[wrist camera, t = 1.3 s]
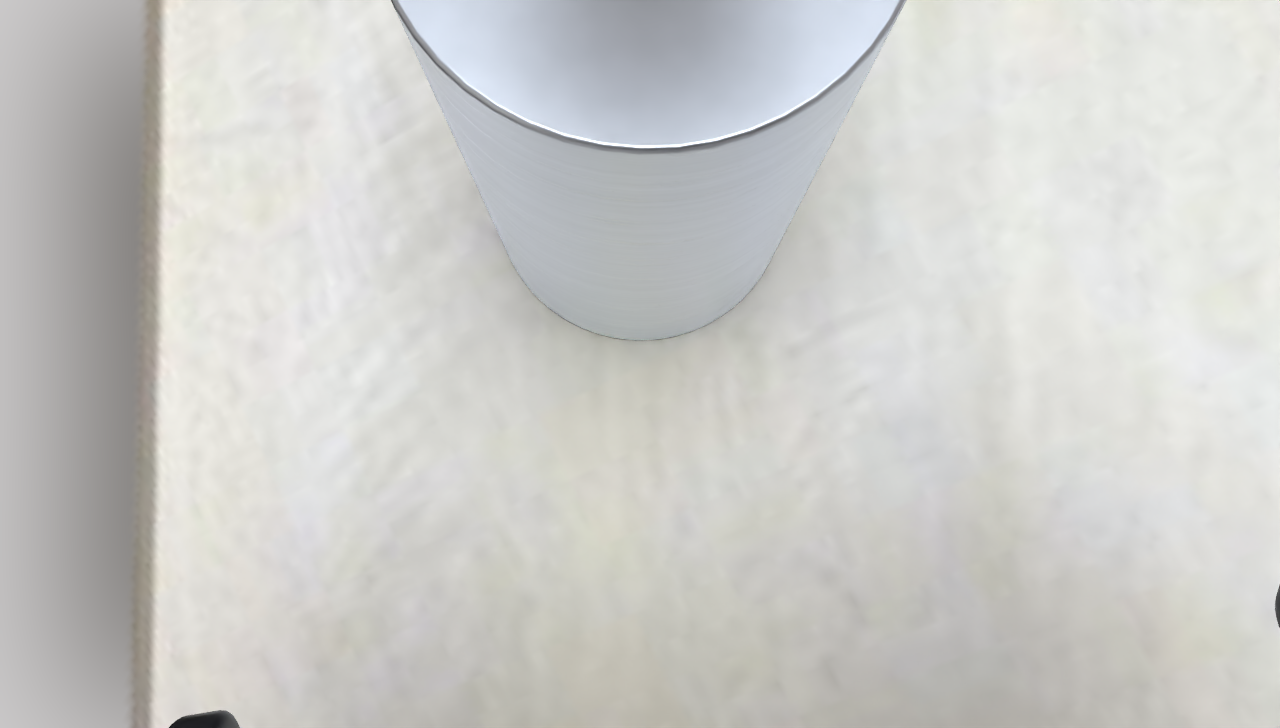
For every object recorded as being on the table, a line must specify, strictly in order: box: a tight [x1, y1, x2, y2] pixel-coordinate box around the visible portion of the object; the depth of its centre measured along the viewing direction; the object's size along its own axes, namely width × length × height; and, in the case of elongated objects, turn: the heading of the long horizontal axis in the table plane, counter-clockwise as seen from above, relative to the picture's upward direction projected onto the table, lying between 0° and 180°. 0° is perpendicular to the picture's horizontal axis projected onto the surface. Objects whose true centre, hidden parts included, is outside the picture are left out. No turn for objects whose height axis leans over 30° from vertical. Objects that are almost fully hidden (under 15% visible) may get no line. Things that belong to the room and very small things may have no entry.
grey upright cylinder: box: [391, 0, 906, 340], centre depth 18 cm, size 6×6×12 cm
